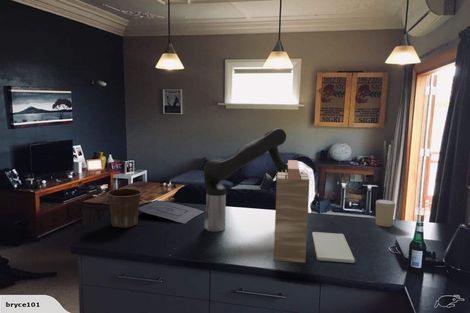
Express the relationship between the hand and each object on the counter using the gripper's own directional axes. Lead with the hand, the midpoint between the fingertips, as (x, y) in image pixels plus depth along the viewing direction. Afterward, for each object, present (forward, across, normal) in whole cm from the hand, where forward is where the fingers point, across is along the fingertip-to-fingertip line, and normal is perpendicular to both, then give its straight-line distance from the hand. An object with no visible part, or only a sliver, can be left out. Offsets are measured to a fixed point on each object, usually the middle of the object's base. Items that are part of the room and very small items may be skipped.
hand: (291, 173), depth 164 cm
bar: (+16, 0, +6) cm, 17 cm away
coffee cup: (-40, +49, +11) cm, 64 cm away
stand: (+4, 0, +36) cm, 36 cm away
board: (-6, +18, +30) cm, 36 cm away
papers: (-34, -63, +14) cm, 74 cm away
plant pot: (-16, -80, +25) cm, 85 cm away
